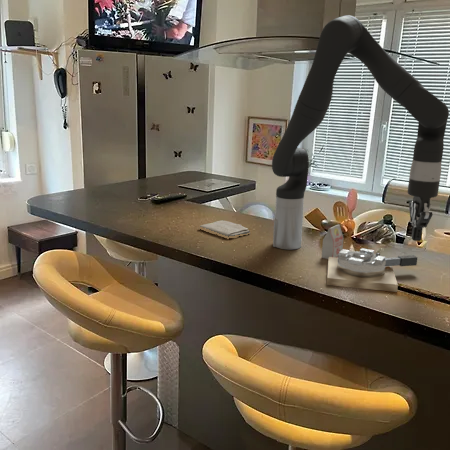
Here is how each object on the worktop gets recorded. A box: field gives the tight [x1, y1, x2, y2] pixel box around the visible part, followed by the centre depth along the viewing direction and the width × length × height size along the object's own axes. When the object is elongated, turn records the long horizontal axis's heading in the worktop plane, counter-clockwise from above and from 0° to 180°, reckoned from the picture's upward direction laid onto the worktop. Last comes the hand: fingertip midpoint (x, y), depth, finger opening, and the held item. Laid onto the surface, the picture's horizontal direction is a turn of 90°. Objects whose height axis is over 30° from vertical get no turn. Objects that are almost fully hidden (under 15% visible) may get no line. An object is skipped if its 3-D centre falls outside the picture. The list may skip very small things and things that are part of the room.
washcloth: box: [199, 219, 251, 237], centre depth 172 cm, size 12×18×3 cm, turn 43°
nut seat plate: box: [326, 257, 399, 293], centre depth 130 cm, size 18×18×2 cm
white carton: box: [321, 224, 344, 260], centre depth 146 cm, size 4×7×10 cm, turn 140°
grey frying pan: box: [337, 248, 418, 277], centre depth 130 cm, size 24×13×4 cm, turn 102°
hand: (415, 239), depth 126 cm, fingers closed
